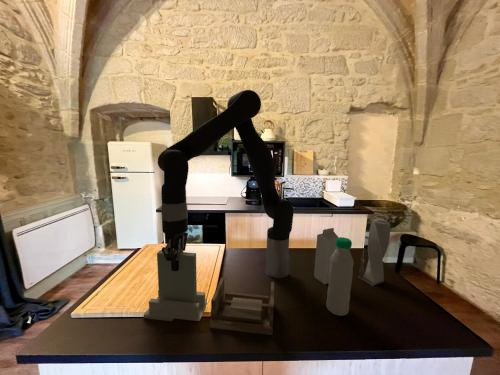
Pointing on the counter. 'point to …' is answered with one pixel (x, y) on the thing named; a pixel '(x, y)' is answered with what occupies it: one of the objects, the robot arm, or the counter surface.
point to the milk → (324, 254)
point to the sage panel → (177, 278)
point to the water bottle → (340, 278)
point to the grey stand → (176, 309)
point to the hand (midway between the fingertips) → (177, 268)
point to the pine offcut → (246, 308)
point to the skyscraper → (375, 251)
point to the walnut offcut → (236, 319)
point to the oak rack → (217, 322)
